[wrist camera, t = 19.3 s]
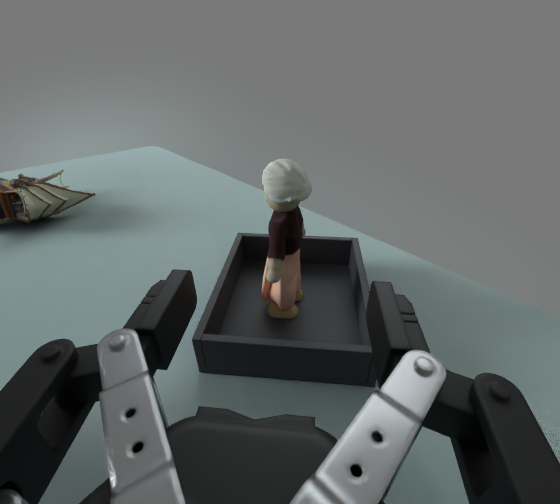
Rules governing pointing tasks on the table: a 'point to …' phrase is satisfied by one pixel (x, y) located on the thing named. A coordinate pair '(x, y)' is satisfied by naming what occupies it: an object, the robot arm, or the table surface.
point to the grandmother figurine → (284, 236)
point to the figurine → (35, 198)
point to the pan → (290, 332)
